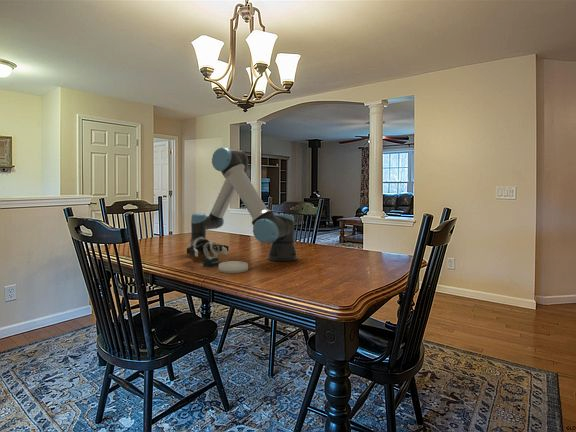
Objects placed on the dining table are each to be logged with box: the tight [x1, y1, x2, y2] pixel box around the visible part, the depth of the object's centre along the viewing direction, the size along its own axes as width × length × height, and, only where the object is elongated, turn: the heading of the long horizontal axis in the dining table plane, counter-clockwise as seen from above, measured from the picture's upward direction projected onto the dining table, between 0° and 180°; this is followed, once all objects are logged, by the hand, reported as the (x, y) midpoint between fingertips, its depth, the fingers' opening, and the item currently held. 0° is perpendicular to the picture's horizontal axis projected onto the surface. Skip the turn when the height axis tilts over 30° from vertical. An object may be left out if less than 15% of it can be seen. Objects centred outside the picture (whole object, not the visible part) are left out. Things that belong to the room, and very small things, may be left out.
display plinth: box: [218, 260, 249, 274], centre depth 164 cm, size 13×13×2 cm
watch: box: [203, 241, 221, 268], centre depth 171 cm, size 6×8×11 cm
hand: (211, 252), depth 169 cm, fingers open, 13 cm apart
